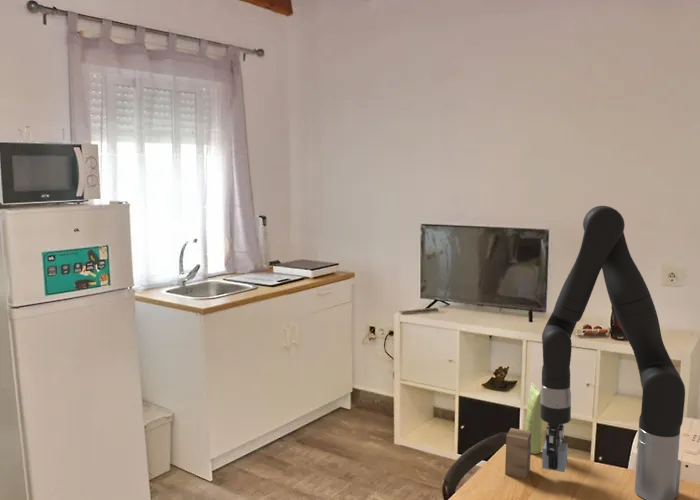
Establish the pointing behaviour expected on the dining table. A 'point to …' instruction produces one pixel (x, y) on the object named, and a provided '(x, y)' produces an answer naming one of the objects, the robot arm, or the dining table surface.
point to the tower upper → (518, 443)
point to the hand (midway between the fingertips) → (554, 463)
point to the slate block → (561, 457)
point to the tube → (534, 419)
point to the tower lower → (517, 466)
